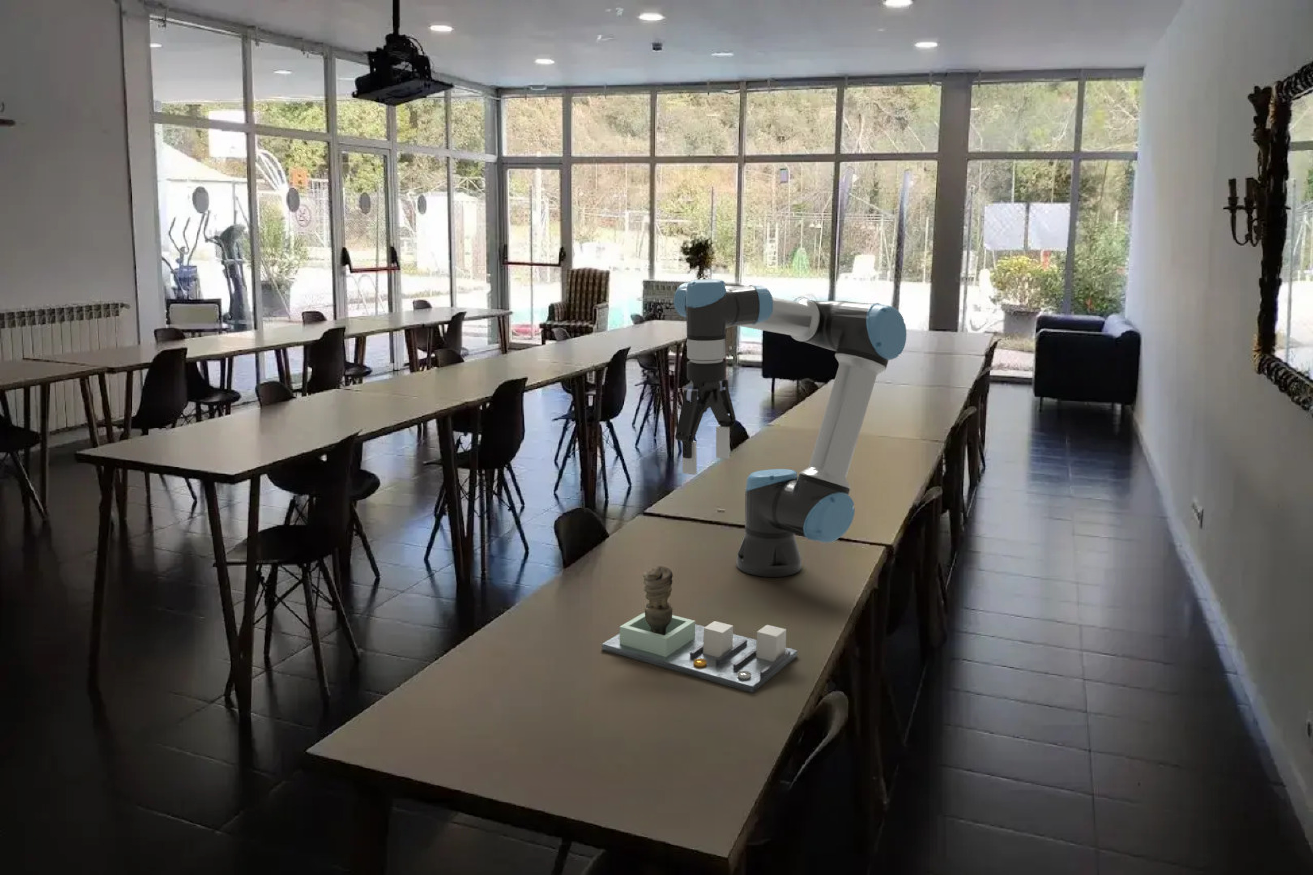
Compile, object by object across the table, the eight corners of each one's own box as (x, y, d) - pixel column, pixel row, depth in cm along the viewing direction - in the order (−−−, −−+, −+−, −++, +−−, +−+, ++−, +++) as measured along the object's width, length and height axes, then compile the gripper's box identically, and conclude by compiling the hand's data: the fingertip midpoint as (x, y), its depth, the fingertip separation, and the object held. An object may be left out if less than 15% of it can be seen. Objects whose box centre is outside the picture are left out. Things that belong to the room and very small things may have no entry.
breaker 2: (766, 649, 191) (766, 624, 190) (785, 654, 189) (786, 629, 188) (756, 657, 188) (756, 631, 187) (775, 662, 186) (776, 636, 185)
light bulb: (646, 648, 191) (647, 573, 187) (639, 636, 196) (639, 563, 192) (675, 645, 192) (676, 571, 189) (667, 633, 198) (668, 560, 194)
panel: (653, 619, 208) (653, 609, 208) (796, 656, 191) (797, 645, 191) (602, 649, 193) (602, 638, 193) (752, 692, 176) (752, 681, 176)
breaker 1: (713, 645, 192) (714, 621, 191) (732, 650, 190) (733, 625, 189) (703, 653, 189) (703, 628, 188) (722, 658, 187) (722, 632, 186)
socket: (649, 626, 201) (649, 609, 201) (694, 637, 196) (695, 620, 195) (619, 643, 193) (619, 626, 192) (666, 656, 187) (666, 639, 187)
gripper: (719, 349, 210) (719, 449, 215) (655, 368, 190) (657, 478, 195) (752, 352, 207) (751, 453, 212) (690, 371, 186) (691, 483, 191)
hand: (706, 465), depth 203 cm, fingers open, 13 cm apart
